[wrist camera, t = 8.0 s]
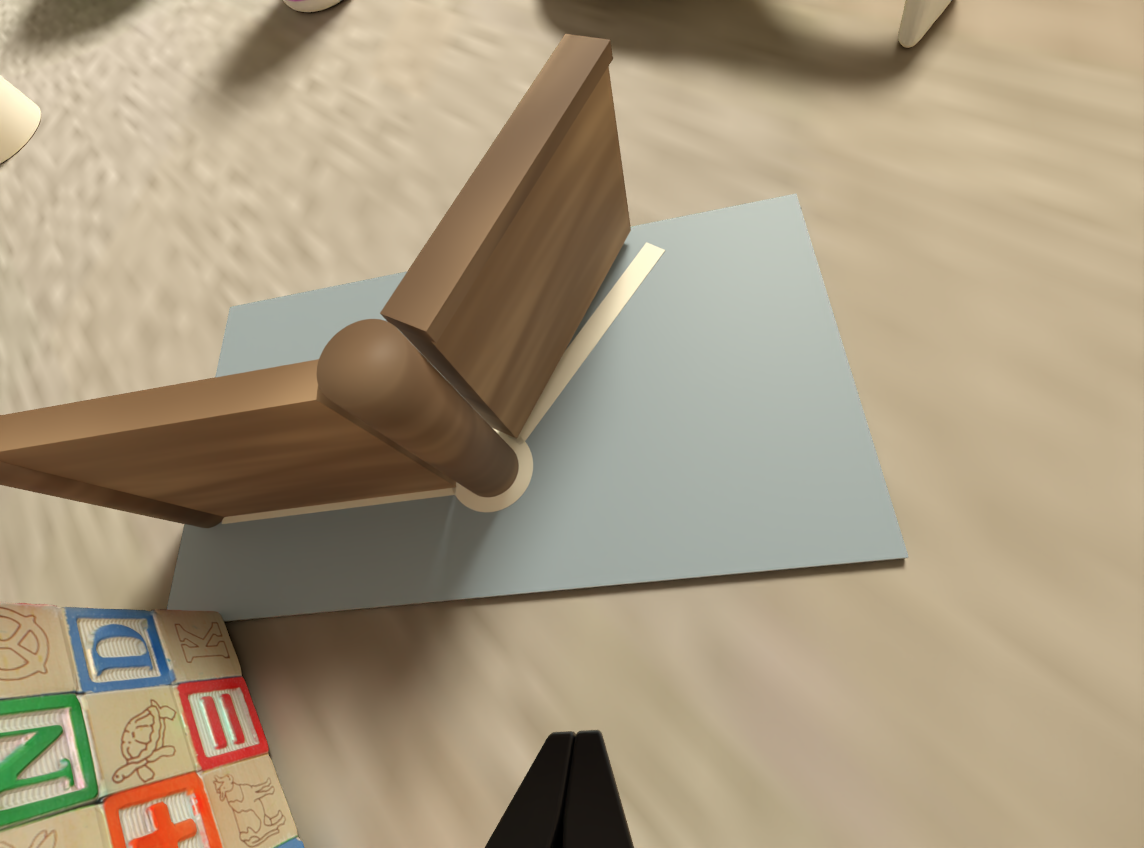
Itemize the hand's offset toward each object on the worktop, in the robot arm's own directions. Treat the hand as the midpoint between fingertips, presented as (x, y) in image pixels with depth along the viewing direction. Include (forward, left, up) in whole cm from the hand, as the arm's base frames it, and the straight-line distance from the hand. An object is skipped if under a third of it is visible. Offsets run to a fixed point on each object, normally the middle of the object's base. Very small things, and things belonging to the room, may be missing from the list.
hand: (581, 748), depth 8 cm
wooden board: (+12, -8, -10) cm, 17 cm away
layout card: (+12, -3, -10) cm, 16 cm away
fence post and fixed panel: (+14, +3, -10) cm, 17 cm away
